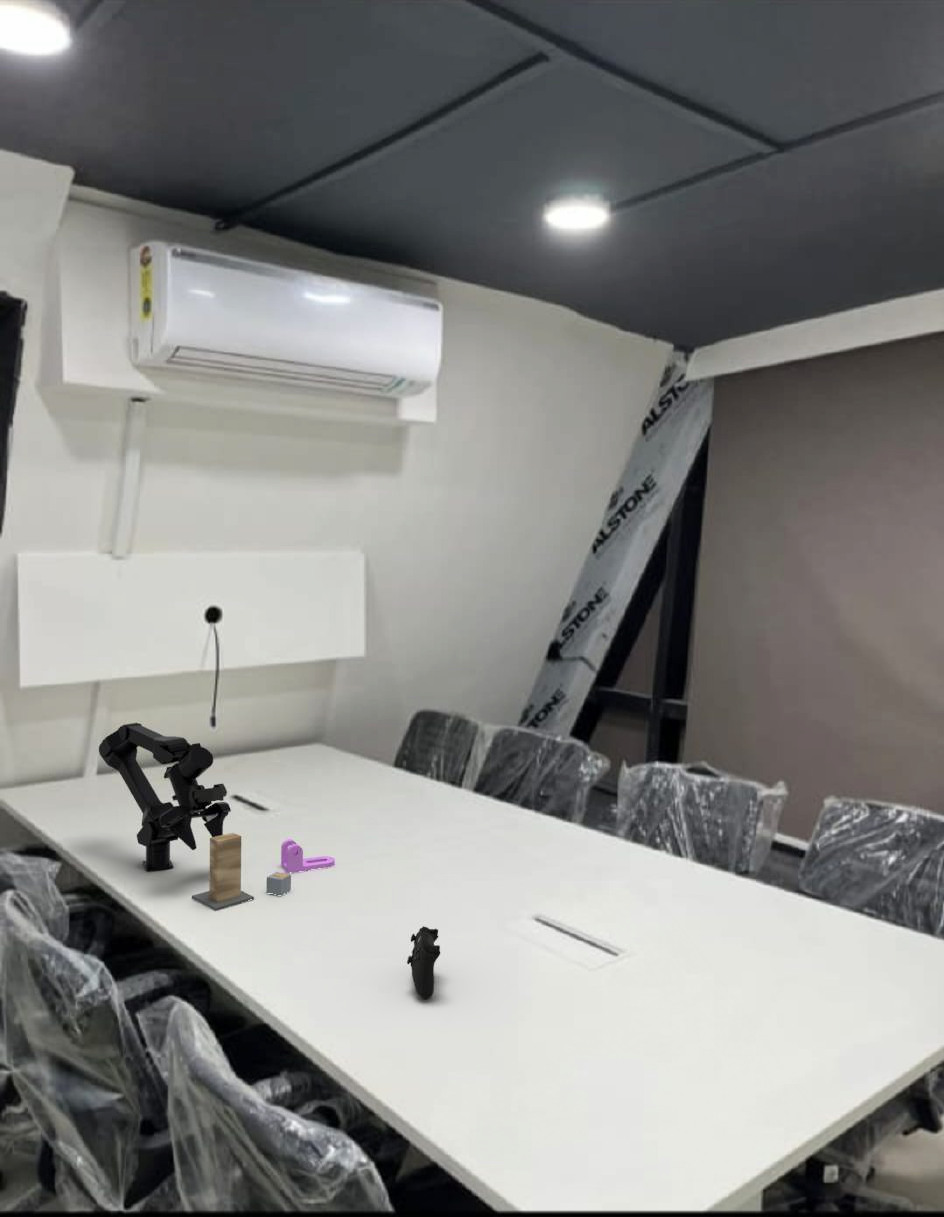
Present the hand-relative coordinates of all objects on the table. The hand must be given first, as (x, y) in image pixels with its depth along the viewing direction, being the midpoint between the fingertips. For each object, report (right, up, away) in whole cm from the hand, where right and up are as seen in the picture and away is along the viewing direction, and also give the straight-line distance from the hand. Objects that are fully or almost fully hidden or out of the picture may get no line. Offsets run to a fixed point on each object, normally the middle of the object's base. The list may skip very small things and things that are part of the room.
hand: (208, 847), depth 233 cm
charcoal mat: (+5, -10, -6) cm, 13 cm away
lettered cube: (+17, -10, -1) cm, 20 cm away
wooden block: (+6, -10, -6) cm, 13 cm away
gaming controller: (+52, -15, -45) cm, 71 cm away
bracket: (+21, -9, +17) cm, 29 cm away
